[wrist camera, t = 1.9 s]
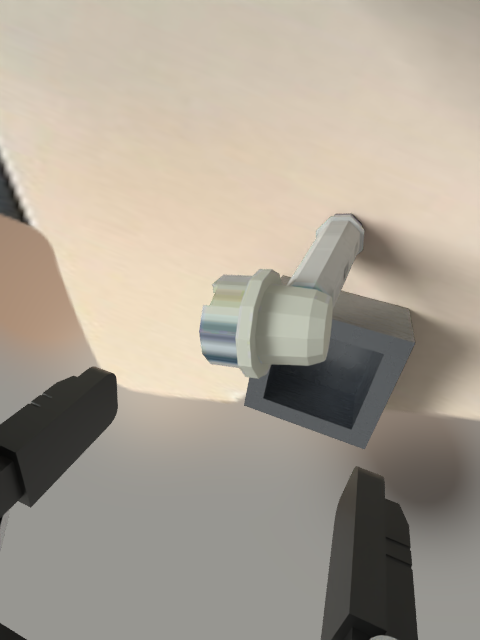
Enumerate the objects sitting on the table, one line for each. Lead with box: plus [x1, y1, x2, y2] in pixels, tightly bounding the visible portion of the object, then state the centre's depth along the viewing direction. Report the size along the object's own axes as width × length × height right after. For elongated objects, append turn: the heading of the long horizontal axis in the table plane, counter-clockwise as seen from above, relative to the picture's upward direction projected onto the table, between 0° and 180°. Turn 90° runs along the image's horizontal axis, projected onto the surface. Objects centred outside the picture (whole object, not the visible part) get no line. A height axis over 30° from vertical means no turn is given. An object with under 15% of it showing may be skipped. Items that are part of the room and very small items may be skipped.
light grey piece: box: [199, 214, 365, 379], centre depth 26 cm, size 5×7×25 cm
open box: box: [244, 275, 415, 449], centre depth 39 cm, size 14×14×8 cm
